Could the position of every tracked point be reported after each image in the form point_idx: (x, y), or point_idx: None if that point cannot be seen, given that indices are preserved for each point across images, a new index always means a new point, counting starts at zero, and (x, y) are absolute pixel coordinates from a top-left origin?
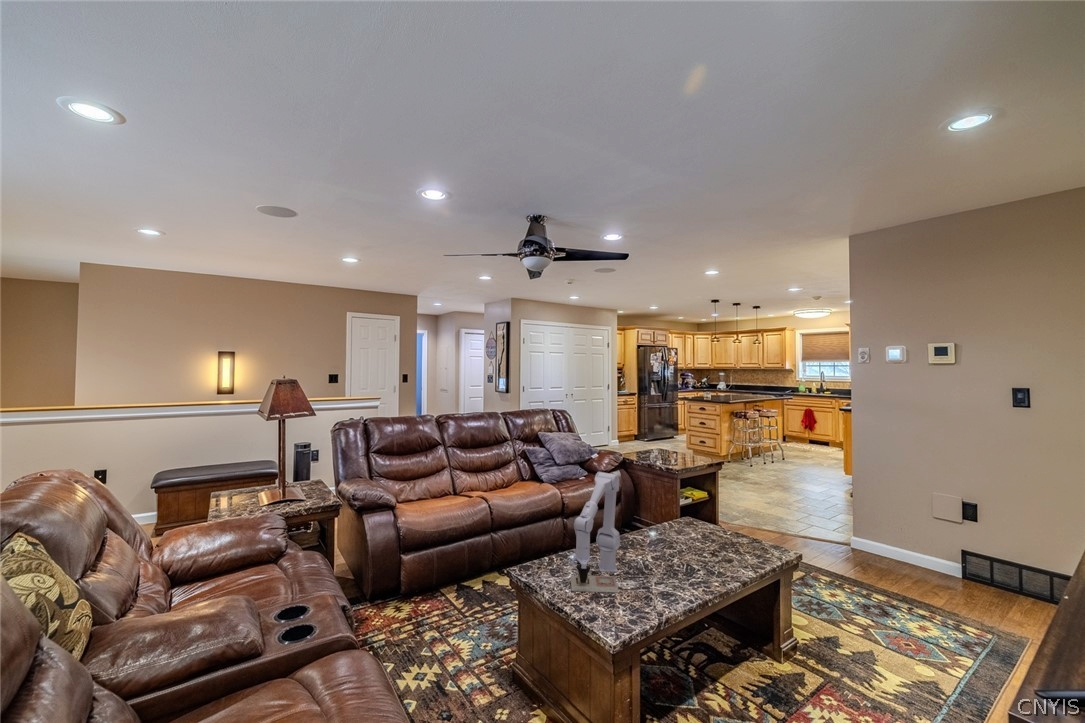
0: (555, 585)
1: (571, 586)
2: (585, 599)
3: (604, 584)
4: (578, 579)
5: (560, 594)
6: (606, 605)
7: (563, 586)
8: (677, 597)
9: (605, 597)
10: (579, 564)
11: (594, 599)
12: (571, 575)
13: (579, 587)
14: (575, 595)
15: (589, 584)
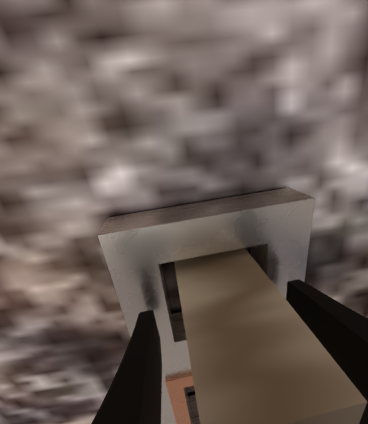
0: (185, 54)
1: (151, 215)
2: (29, 312)
3: (181, 407)
4: (180, 297)
5: (18, 128)
6: (13, 402)
7: (180, 139)
8: None
9: (101, 385)
10: (359, 419)
11: (54, 351)
12: (308, 204)
13: (117, 286)
14: (57, 249)
15: (168, 343)
